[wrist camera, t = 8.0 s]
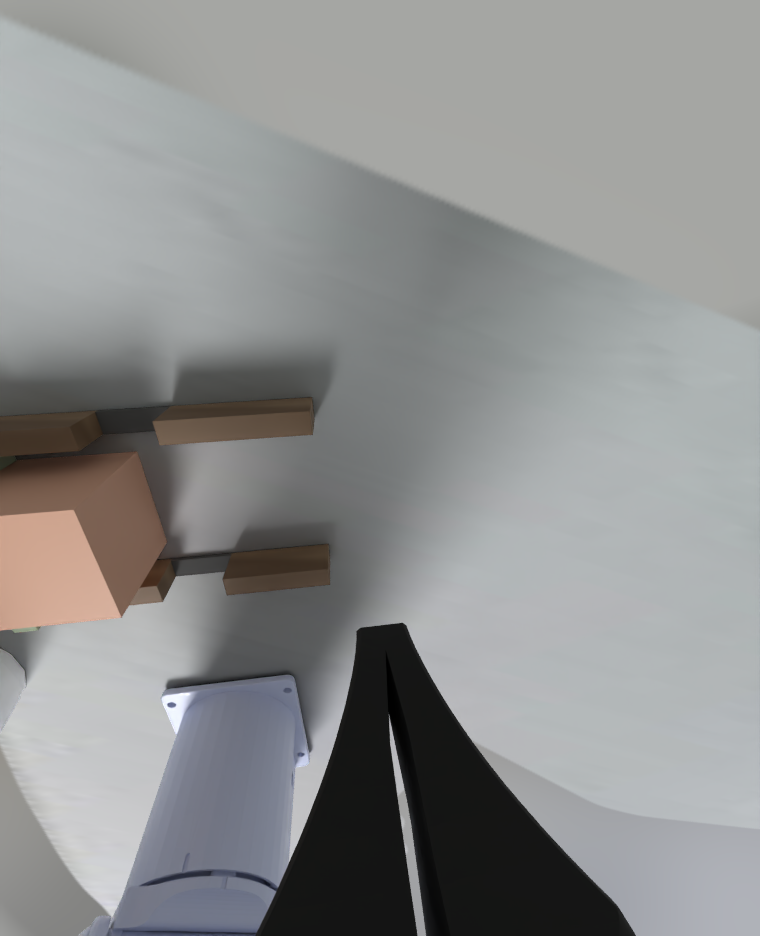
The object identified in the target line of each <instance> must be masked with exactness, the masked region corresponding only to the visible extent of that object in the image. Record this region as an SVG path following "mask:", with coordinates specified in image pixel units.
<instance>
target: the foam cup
mask: <svg viewBox="0 0 760 936" xmlns="http://www.w3.org/2000/svg"><path fill="white" fill-rule="evenodd" d="M25 688H26V679H25V670H24V669H23V668H22V667H21V666H20V664H19V663H18V662H17V661H16V660H15V658H14V657H13V656H12V655H11V654H10V653H8V652H6V651H4V650H2V649H1V648H0V733H1V731H2V729H3V728H4V726H5V724H6V722H7V721H8V719H9V717H10V715H11V713H12V712H13V710H14V708H15V706H16V705H17V703H18V701H19V699H20V694H21V693H22V692H23V690H24V689H25Z"/></svg>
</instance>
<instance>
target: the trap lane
mask: <svg viewBox="0 0 760 936" xmlns="http://www.w3.org/2000/svg"><path fill="white" fill-rule="evenodd" d="M313 427H314V410H313V401H312V397H307V398H291V399H275V400H259V401H243V402H227V403H211V404H194V405H178V406H162V407H146V408H130V409H114V410H98V411H82V412H66V413H50V414H34V415H17V416H1V417H0V470H2V469H3V468H5V467H7V466H8V465H10V464H12V463H13V462H15V461H17V460H16V458H15V456H16V455H30V454H45V453H59V452H73V451H80V450H82V449H83V448H84V447H86V446H87V445H89V444H90V443H91V442H93V441H94V440H96V439H97V438H99V437H100V436H101V435H103V434H116V433H130V432H145V431H155V432H156V435H157V438H158V442H159V445H173V444H187V443H201V442H216V441H230V440H244V439H258V438H273V437H287V436H301V435H313ZM215 572H225V574H224V577H223V583H224V587H225V590H226V594H227V595H235V594H244V593H254V592H264V591H274V590H283V589H293V588H303V587H313V586H322V585H330V554H329V545H328V544H323V545H312V546H301V547H291V548H280V549H269V550H259V551H248V552H237V553H227V554H216V555H205V556H195V557H184V558H174V559H163V560H156V562H155V563H154V565H153V567H152V568H151V570H150V571H149V573H148V575H147V576H146V578H145V580H144V581H143V583H142V585H141V586H140V588H139V590H138V591H137V593H136V595H135V596H134V598H133V600H132V601H131V603H130V604H129V605H137V604H147V603H157V602H163V600H164V598H165V597H166V595H167V593H168V591H169V589H170V587H171V585H172V583H173V581H174V579H175V577H176V576H185V575H195V574H205V573H215ZM40 627H41V626H38V627H29V628H19V629H12V631H13V632H14V633H18V632H27V631H37V630H39V628H40Z"/></svg>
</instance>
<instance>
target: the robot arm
mask: <svg viewBox="0 0 760 936" xmlns="http://www.w3.org/2000/svg"><path fill="white" fill-rule="evenodd" d="M356 632H357V641H356V653H355V660H354V666H353V672H352V678H351V682H350V687H349V691H348V696H347V700H346V705H345V709H344V712H343V716H342V719H341V723H340V726H339V730H338V734H337V737H336V741H335V744H334V747H333V750H332V753H331V756H330V759H329V762H328V765H327V768H326V771H325V774H324V777H323V780H322V783H321V785H320V788H319V791H318V793H317V796H316V799H315V801H314V804H313V806H312V809H311V812H310V814H309V817H308V819H307V822H306V824H305V827H304V829H303V832H302V834H301V837H300V839H299V841H298V844H297V846H296V848H295V850H294V853H293V855H292V857H291V860H290V862H289V849H290V835H291V821H292V808H293V794H294V780H295V767H301V766H306V765H308V764H309V762H310V755H309V750H308V745H307V739H306V734H305V729H304V724H303V719H302V714H301V708H300V703H299V698H298V693H297V688H296V683H295V679H294V677H293V676H291V675H280V676H272V677H264V678H255V679H247V680H239V681H231V682H222V683H214V684H206V685H198V686H189V687H181V688H173V689H167V690H165V691H164V692H163V694H162V697H161V701H162V703H163V705H164V708H165V710H166V712H167V714H168V717H169V719H170V721H171V724H172V726H173V728H174V731H175V733H176V738H175V741H174V744H173V747H172V750H171V753H170V756H169V759H168V762H167V765H166V768H165V771H164V774H163V777H162V780H161V783H160V786H159V789H158V792H157V795H156V798H155V801H154V804H153V807H152V810H151V813H150V816H149V819H148V822H147V825H146V828H145V831H144V834H143V837H142V840H141V843H140V846H139V849H138V852H137V855H136V858H135V861H134V864H133V867H132V870H131V873H130V876H129V879H128V882H127V885H126V888H125V891H124V894H123V897H122V899H121V901H120V903H119V905H118V907H117V909H116V911H115V913H114V915H113V918H112V920H111V916H98V917H96V918H95V919H94V921H93V923H92V925H91V926H89V927H87V928H86V929H85V930H84V931H83V932H82V933H80V935H78V936H417V929H416V922H415V916H414V910H413V902H412V896H411V889H410V882H409V875H408V868H407V862H406V854H405V847H404V840H403V833H402V826H401V819H400V812H399V805H398V798H397V791H396V783H395V776H394V769H393V761H392V754H391V747H390V732H389V716H390V721H391V726H392V731H393V736H394V740H395V745H396V750H397V755H398V760H399V764H400V769H401V774H402V779H403V783H404V788H405V793H406V797H407V803H408V808H409V813H410V819H411V825H412V833H413V840H414V847H415V855H416V862H417V869H418V876H419V884H420V892H421V899H422V906H423V914H424V922H425V929H426V936H636V935H635V933H634V932H633V930H632V928H631V927H630V925H629V923H628V922H627V920H626V919H625V917H624V915H623V914H622V912H621V911H620V909H619V908H618V906H617V905H616V904H615V903H614V902H613V901H612V899H611V898H610V897H609V896H608V895H607V894H606V893H604V892H603V890H601V889H600V888H599V887H598V886H597V885H596V884H595V883H594V882H593V881H592V880H591V879H590V878H589V877H588V875H586V873H585V872H583V870H582V869H581V868H580V867H579V866H578V865H577V864H576V863H575V862H574V861H573V860H572V859H571V858H570V857H569V856H568V855H567V854H566V853H565V852H564V851H563V849H562V848H561V847H560V846H559V845H558V844H557V843H556V842H555V841H554V840H553V839H552V838H551V837H550V835H548V833H547V832H546V831H545V830H544V829H543V828H542V827H541V826H540V824H539V823H538V822H537V821H536V820H535V819H534V817H533V816H532V815H531V814H530V813H529V812H528V811H527V809H526V808H525V807H524V806H523V805H522V804H521V802H520V801H519V800H518V799H517V798H516V797H515V795H514V794H513V793H512V792H511V791H510V790H509V789H508V787H507V786H506V785H505V784H504V782H503V781H502V780H501V779H500V777H499V776H498V775H497V773H496V772H495V771H494V770H493V768H492V767H491V766H490V765H489V763H488V762H487V761H486V759H485V758H484V757H483V755H482V754H481V753H480V751H479V750H478V749H477V747H476V746H475V745H474V743H473V742H472V741H471V739H470V738H469V736H468V735H467V733H466V732H465V731H464V729H463V728H462V726H461V725H460V723H459V722H458V720H457V719H456V717H455V716H454V714H453V713H452V711H451V710H450V708H449V707H448V705H447V703H446V702H445V700H444V699H443V697H442V695H441V694H440V692H439V690H438V689H437V687H436V685H435V683H434V682H433V680H432V678H431V677H430V675H429V673H428V671H427V669H426V668H425V666H424V664H423V662H422V660H421V658H420V656H419V654H418V652H417V650H416V648H415V646H414V644H413V641H412V639H411V637H410V634H409V632H408V629H407V626H406V625H405V624H403V623H398V624H389V625H381V626H372V627H364V628H360V629H359V630H357V631H356ZM288 863H289V864H288ZM110 921H111V922H110Z"/></svg>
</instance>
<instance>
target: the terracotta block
mask: <svg viewBox="0 0 760 936" xmlns="http://www.w3.org/2000/svg"><path fill="white" fill-rule="evenodd" d="M166 543H167V540H166V537H165V534H164V531H163V528H162V525H161V522H160V519H159V516H158V513H157V510H156V507H155V504H154V501H153V498H152V495H151V492H150V489H149V486H148V483H147V480H146V477H145V474H144V471H143V468H142V465H141V462H140V459H139V456H138V453H137V451H136V452H122V453H108V454H95V455H81V456H67V457H53V458H39V459H25V460H17V461H15V462H13V463H12V464H10V465H8V466H7V467H5V468H3V469H2V470H0V630H10V629H19V628H29V627H38V626H48V625H57V624H66V623H76V622H85V621H95V620H104V619H113V618H122V616H123V614H124V613H125V611H126V609H127V608H128V606H129V604H130V603H131V601H132V600H133V598H134V596H135V595H136V593H137V591H138V590H139V588H140V586H141V585H142V583H143V581H144V580H145V578H146V576H147V575H148V573H149V571H150V570H151V568H152V567H153V565H154V563H155V562H156V560H157V558H158V557H159V555H160V553H161V552H162V550H163V548H164V547H165V545H166Z"/></svg>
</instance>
